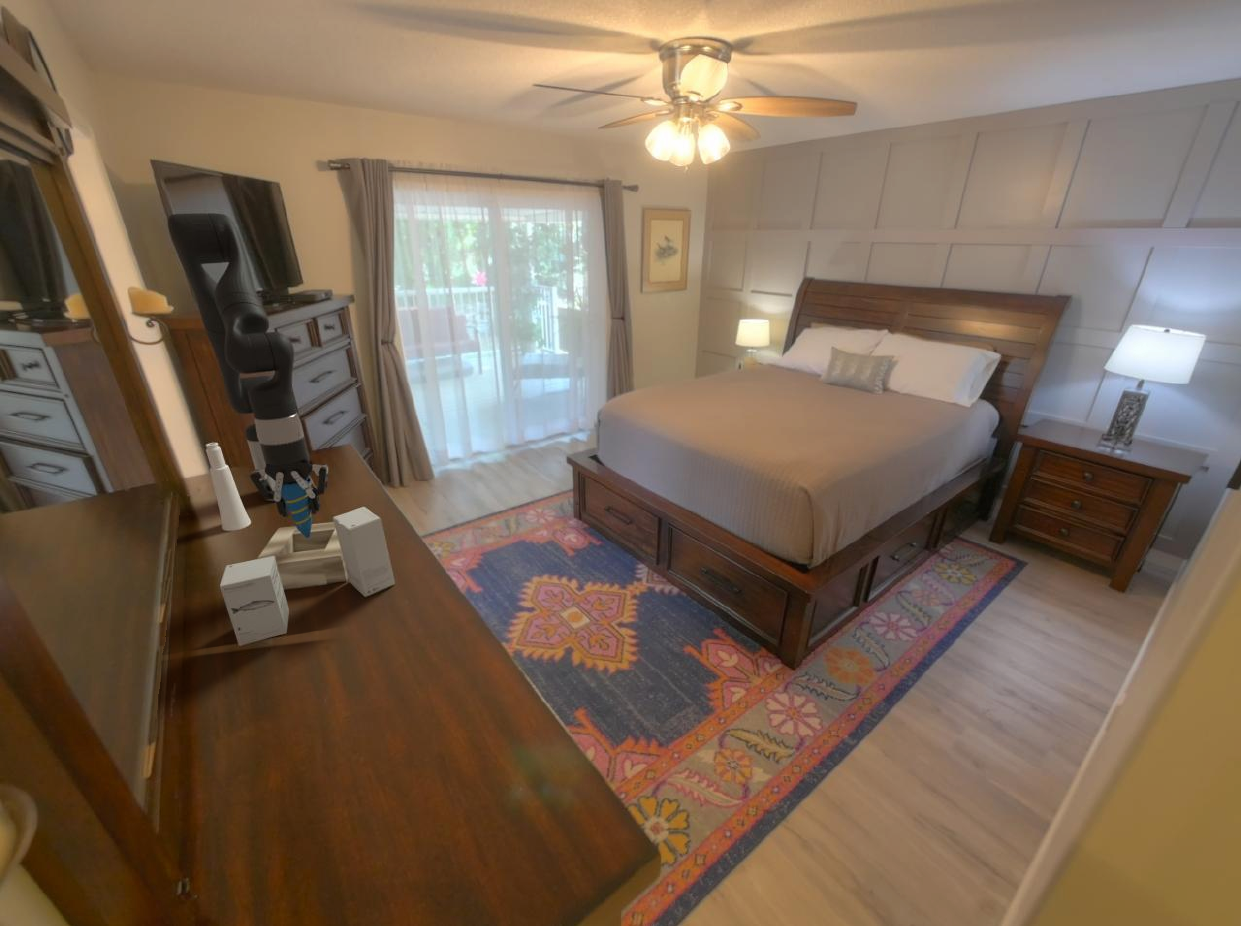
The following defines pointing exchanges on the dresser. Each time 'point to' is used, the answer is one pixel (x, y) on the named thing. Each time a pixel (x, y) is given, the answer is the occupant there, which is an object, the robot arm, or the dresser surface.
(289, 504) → the ornament
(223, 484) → the cosmetic bottle
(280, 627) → the supplement box
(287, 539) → the socket block
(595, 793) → the dresser surface
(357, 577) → the skincare box
